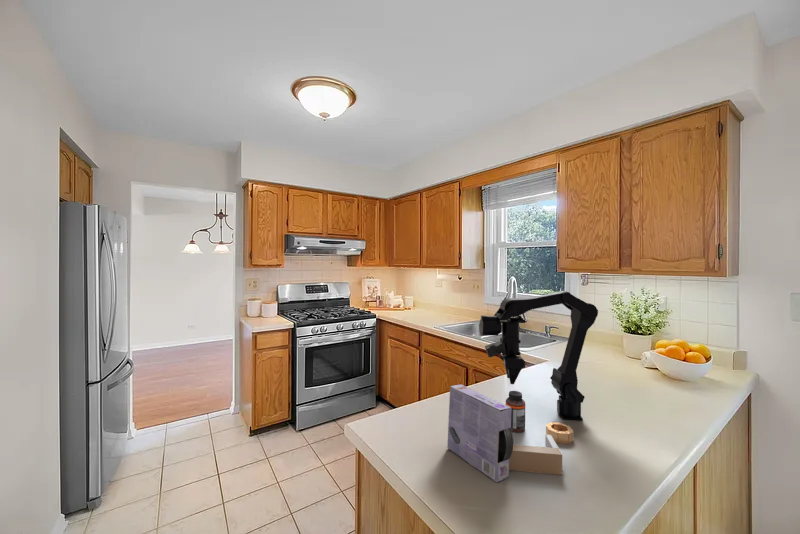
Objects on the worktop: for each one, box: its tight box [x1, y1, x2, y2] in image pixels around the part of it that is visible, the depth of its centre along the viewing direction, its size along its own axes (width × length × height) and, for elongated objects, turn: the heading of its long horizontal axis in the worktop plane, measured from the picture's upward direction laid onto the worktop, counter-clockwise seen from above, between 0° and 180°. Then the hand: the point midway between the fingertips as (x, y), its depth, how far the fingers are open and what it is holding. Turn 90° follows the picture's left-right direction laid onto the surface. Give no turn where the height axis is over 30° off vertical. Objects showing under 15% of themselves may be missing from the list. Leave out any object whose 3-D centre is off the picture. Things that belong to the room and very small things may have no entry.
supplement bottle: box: [505, 390, 526, 433], centre depth 107 cm, size 6×6×11 cm
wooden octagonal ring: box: [545, 421, 574, 445], centre depth 101 cm, size 7×7×3 cm
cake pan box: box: [446, 384, 514, 484], centre depth 88 cm, size 19×5×18 cm, turn 33°
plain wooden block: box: [509, 434, 563, 476], centre depth 90 cm, size 16×13×5 cm
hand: (510, 380), depth 116 cm, fingers open, 6 cm apart
